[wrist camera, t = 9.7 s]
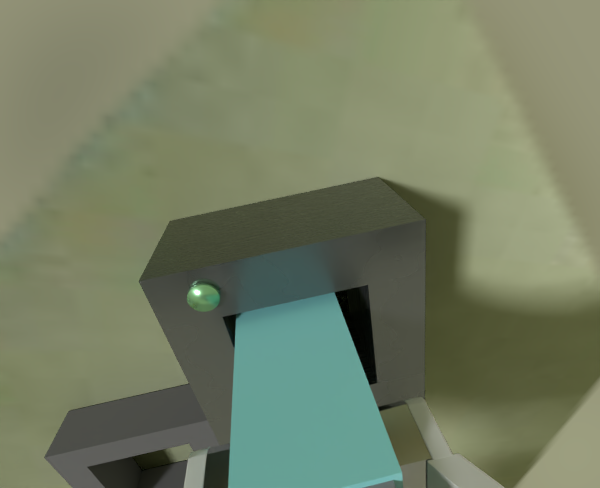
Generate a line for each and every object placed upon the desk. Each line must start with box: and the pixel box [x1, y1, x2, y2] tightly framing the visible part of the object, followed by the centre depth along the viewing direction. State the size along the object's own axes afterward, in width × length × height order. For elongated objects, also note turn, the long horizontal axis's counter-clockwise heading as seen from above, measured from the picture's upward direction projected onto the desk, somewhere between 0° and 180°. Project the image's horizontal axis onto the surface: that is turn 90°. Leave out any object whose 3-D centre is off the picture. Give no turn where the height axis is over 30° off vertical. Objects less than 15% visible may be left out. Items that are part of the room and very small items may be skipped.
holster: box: [44, 384, 219, 488], centre depth 20 cm, size 8×8×2 cm
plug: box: [228, 292, 403, 488], centre depth 10 cm, size 4×4×8 cm
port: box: [139, 177, 426, 445], centre depth 14 cm, size 9×9×5 cm
